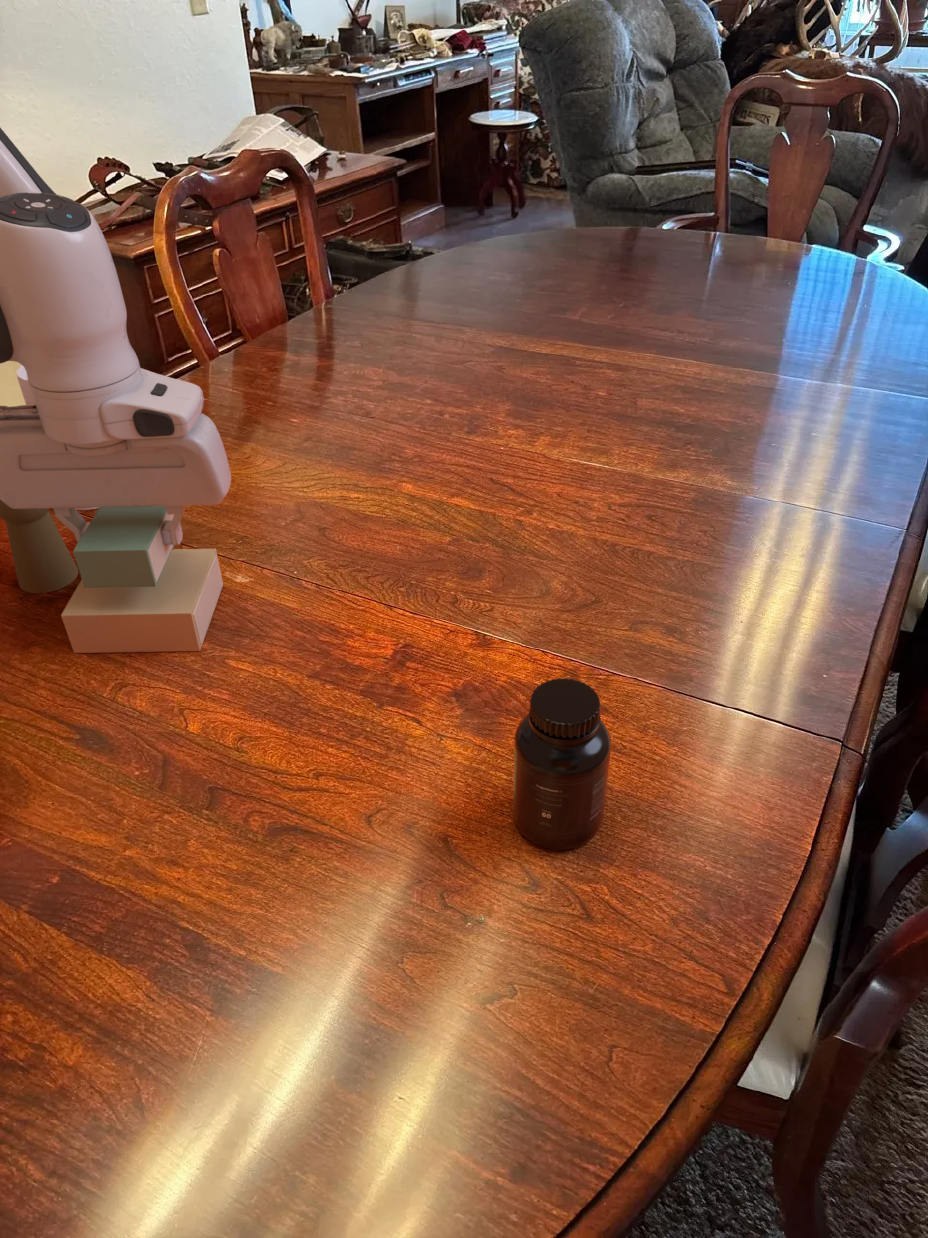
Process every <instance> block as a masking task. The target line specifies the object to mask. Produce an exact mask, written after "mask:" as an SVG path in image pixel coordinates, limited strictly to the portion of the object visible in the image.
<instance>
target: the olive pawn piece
mask: <svg viewBox="0 0 928 1238" xmlns="http://www.w3.org/2000/svg"><path fill="white" fill-rule="evenodd" d="M49 510H50V508H43V509H12V508H10V507H9V506H7V505H6V504H5V503H4V502H3V501H1V500H0V519H2V520H3V521H5V525H6V529H7V535H8V540H9V544H10V550H11V554H12V559H13V565H14V570H15V574H16V579H17V584H18V586H19V588H20V590H22V591H24V592H25V593H29V594H47V593H52V592H55V591H59V590H62V589H63V588H65V587H68V586H69V585H70V584H72V583H73V582H74V581H75V580H76V579H77V577H78V575H79V568H78V565H77V563H76V561H74V558H73V557H72V554H71V553H70V551H69V548H68V546H67V544H66V543H65V541H64V539H63V537H62V535H61V533H60V531H59V529H58V527H57V525H56V523H55V520H54V519H53V517H52V515H51V513H50V511H49Z"/></svg>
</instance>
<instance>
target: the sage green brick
mask: <svg viewBox="0 0 928 1238" xmlns="http://www.w3.org/2000/svg"><path fill="white" fill-rule="evenodd" d="M173 516H174V514H173V515H168V514H167V511H166V507H165V506H142V507H100V508H97V511H96V512H95V514H94V516H93V517H92V519H91V521H89V522H90V524H89V526H88V527H87V529H86V531H85V532H84V534H83V535H82V537H81V539H80V540H79V542H78V544H76V545H75V547H74V549H73V550H72V553H73V557H74V558H75V563H76V566H77V568H78V570H79V571H78V573H79V574H80V578H81V579H82V581H83V584H84V587H85V588H106V587H155V586H156V585H157V583H158V581H159V579H160V576H161V574H162V572H163V570H164V567H165V565H166V563H167V561H168V559H169V556H170V554H171V552H172V550H173V549H174V548H175V545H164V544H163V538H162V536H161V533H160V530H161V527H162V526H163V523H164V521H169V520H172V519H173ZM181 523H182V522H180V524H181ZM181 525H182V524H181ZM181 528H182V529H183V527H182V526H181Z"/></svg>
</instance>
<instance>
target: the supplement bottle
mask: <svg viewBox="0 0 928 1238" xmlns="http://www.w3.org/2000/svg"><path fill="white" fill-rule="evenodd" d="M513 745H514V746H513V785H512V787H513V788H512V815H513V820H514V823H515V825H516V827H517V829H518V831H519V832H520V833H521V834H522V835H523V836H524V837H525V838H526V839H527V840H529V841H530V842H532V843H533V844H535V845H537V846H539V847H541V848H544V849H549V850H555V851H567V850H572V849H575V848H576V849H577V848H579V847H582V846H584V845H585V844H587V843H588V842H590V841H591V840H593V839H594V837H595V836H596V835H597V834H598V832H599V831H600V829H601V826H602V824H603V819H604V813H605V806H606V796H607V787H608V780H609V779H608V777H609V770H610V762H611V761H610V760H611V751H612V739H611V735H610V732H609V730H608V728H607V725H605V723H604V722H603V721H602V719H601V699H600V696H598V693H597V692H595V689H594V688H592V687H591V686H590V685H588V684H586V683H585V682H582V681H580V680H578V679H577V680H576V679H573V678H560V677H559V678H554V679H551V680H546V681H544V682H542V683H541V684H540V685H538V686H536V688H535V689H534V690H533V693H532V694H531V695H530V700H529V709H528V713H527V714H526V715H525V716H524V717H523V718H522V720H521V721H520V722H519V724H518V725H517V727H516V730H515V734H514V743H513Z"/></svg>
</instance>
